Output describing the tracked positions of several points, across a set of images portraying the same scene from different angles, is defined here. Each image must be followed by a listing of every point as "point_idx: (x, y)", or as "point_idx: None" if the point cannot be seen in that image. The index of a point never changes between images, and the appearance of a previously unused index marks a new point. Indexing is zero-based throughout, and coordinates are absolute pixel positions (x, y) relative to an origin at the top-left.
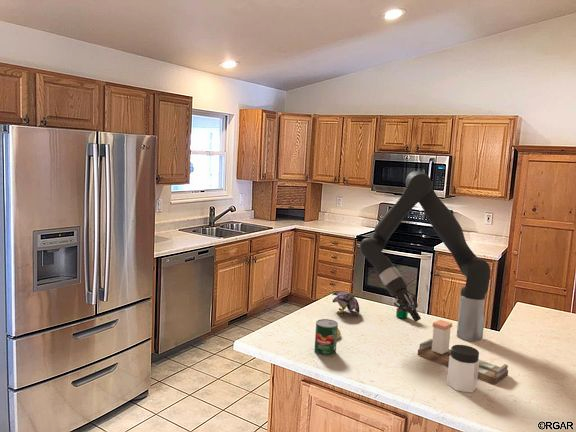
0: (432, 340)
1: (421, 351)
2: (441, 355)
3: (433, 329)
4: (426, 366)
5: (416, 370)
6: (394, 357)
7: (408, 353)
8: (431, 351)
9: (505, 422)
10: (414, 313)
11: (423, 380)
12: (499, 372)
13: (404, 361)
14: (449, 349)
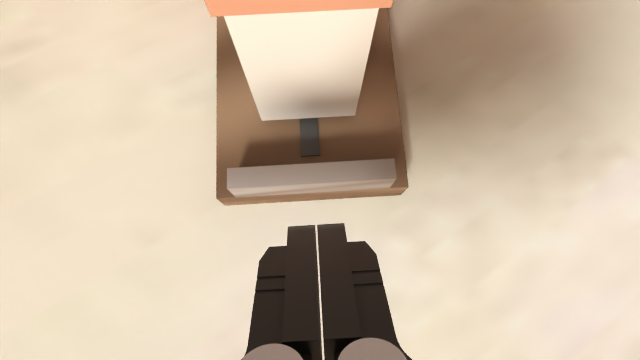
0: (362, 80)
1: (404, 161)
2: None
3: (375, 20)
4: (483, 79)
5: (574, 82)
6: (565, 258)
7: (431, 243)
8: (350, 120)
9: None
10: (353, 308)
11: (626, 6)
12: None
13: (549, 186)
14: (218, 73)
